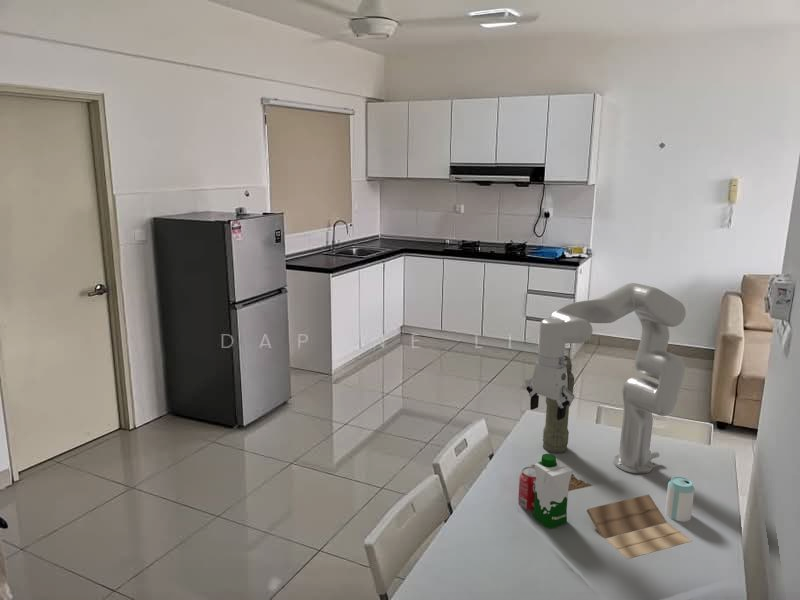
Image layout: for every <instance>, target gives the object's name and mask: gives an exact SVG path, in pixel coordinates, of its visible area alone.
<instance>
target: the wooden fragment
mask: <svg viewBox="0 0 800 600" xmlns="http://www.w3.org/2000/svg"><path fill="white" fill-rule="evenodd" d="M530 467H535V465H534V464H530ZM592 486H593V484H591V483H588V482H587V483H586V482H585V481H583V480H582V479H578V478H577V477H575V475H574V474H573V473H572V475H571V478H570V482H569V487H568V492H569V491H570V492H571V491H575V490H580V489H583V488H589V487H592Z"/></svg>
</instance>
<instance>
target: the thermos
mask: <svg viewBox="0 0 800 600" xmlns="http://www.w3.org/2000/svg"><path fill="white" fill-rule="evenodd" d="M564 360H565V361H567V364H566V365H564V366H566V369H567V377H568V390H569V391H570V392H571V393H572V394H573V395H574V386H575V385H574V384H575V376H574V373H572V368H573V365H572V360H571V358H570V357H569V356H567V355H565V354H564ZM567 398H568V397H567V396H566V397H565V399H566V400H567ZM560 400H561V399H560ZM561 401H562V400H561ZM562 403H563V402H562ZM545 404H546V412H545V413H546V414H545V425H544V428H543V431H542V441H543V442H542V443H543V444H542V449H543V450H544V451H546V452H548V453H550V454H564V453H566V452H567V451H568V444H569V434H570V433H569V429H568V426H569V413H570V407H571V406H572V403H570V404H569V405H568V406H566V414H565V417H564V418H563V419H561V420H557V408H558V407H559V405H558V403H557V401H556V400H554V399H551V398H548V397H545Z"/></svg>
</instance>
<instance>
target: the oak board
mask: <svg viewBox="0 0 800 600" xmlns="http://www.w3.org/2000/svg"><path fill="white" fill-rule="evenodd" d="M605 540H606V541H607V542H608V543H609V544H610V545H611V546H613V547H614V548H615V549H616V550H618V551H619V552H620V553H621V554H622V555H623V556H624V557H625V558H627V560H629V559H633V558H635V557H640V556H644V555H647V554H650V553H654V552H659V551H662V550H664V549H669V548H672V547H675V546H679V545H683V544H686V543H690V542H693V540H692V539H691V538H689V537H687V535H685V534H684V533H682V532H681V530H679V529H677V528H676V527H674V526H673V525H671V524H670V523H669V522H666V523H662V524H658V525H654V526H651V527H647V528H643V529H639V530H635V531H631V532H627V533H624V534H620V535H616V536H612V537H608V538H605Z"/></svg>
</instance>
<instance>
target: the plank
mask: <svg viewBox="0 0 800 600" xmlns="http://www.w3.org/2000/svg"><path fill="white" fill-rule="evenodd" d="M586 513H587V515H588V516H589V518H590V520H591V521H592V524H593V526H594V528H595V529H596V530H597V533H598V534H599V535H600V536H601V537H602V538H604V539H607V538H611V537H615V536H619V535H623V534H626V533H630V532H634V531H638V530H642V529H646V528H649V527H653V526H657V525H661V524H665V523H668V522H667V520H666V519H665V517H664V516H663V514H662V512H661V511H660V510H659V507H658V506H657V504H656V503H655V502H654V500H653V498H652V497H651V495H650V494H645V495H641V496H637V497H632V498H628V499H624V500H620V501H615V502H611V503H606V504H603V505H599V506H594V507H591V508H590V507H589V508H587V510H586Z"/></svg>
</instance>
